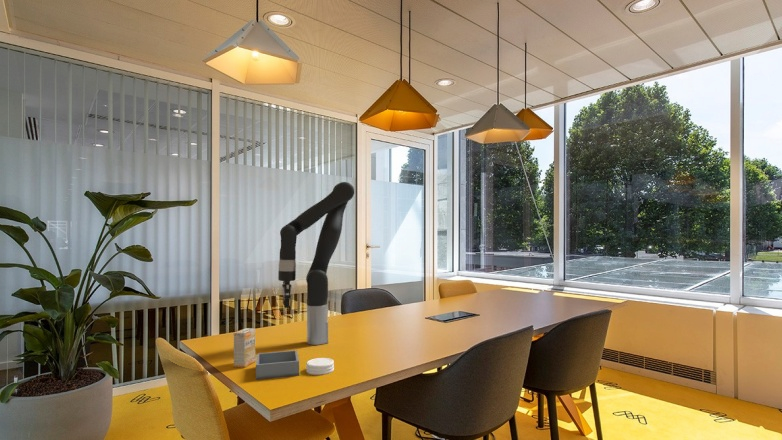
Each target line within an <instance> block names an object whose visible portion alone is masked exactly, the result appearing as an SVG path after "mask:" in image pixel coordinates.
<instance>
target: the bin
mask: <svg viewBox="0 0 782 440" xmlns="http://www.w3.org/2000/svg"><path fill="white" fill-rule="evenodd" d="M255 362H256V363H255V380H256V381H257V380H258V381H259V380H267V379H277V378H288V377H297V376H300V358H299V354H298V350H295V349H294V350H285V351H284V350H283V351H274V352H273V351H271V352H261V353H260V352H259V353H257V354H256V359H255Z"/></svg>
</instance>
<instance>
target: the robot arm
mask: <svg viewBox="0 0 782 440" xmlns="http://www.w3.org/2000/svg"><path fill="white" fill-rule="evenodd" d="M354 195H355V188H354V185H352V184H351V183H350V182H348V181H347V182H346V181H341V182H339V183H337V184H336V185H334V187H333V189H332V191H331V192H330V193H329V194H328V195H326V197H324V198H323V199H321V200H319V201H318V202H317V203H315V204H313V205H312V206H310V207H309V208H307V209H305V210H304V211H303V212H302V213H300V214H299V215H298V216H297V217H295V218H294V219H292V220H291V221H290V222H288V223H287V224H285V225H284V226H282V227H281V229H280V230H279V232H280V233H279V235H280V249H279V262H278V276H277V278H278V281H280V282H282V284H281V288H282V289H281V292H282V297H283V298H282V304H283V308H284V309H290V300H291V294H292V284H291V282H294V281H296V275H297V274H296V273H297V271H296V269H297V263H296V259H297V257H296V254H297V253H296V250H297V248H296V247H297V238H298V237H297V236H298V235H299V234H301V233H302V232H304V231H305V230H307V229H309V228H310V227H311V226H313V225H315V224H316V223H317V222H318V221H320V219H322V218H323V217H325V218H324V220H323V223H322V226H321V230H320V233H319V235H318V240H317V244H316V248H315V254H314V257H313V260H312V262H311V264H310V268H309V270H308V272H307V275H306V276H305V278H306V279H305V281H306V285H307V286H306V288H307V289H306V291H307V292H306V293H307V294H306V341H307V342H306V343H307V344H308V345H310V346H311V345H313V346H316V345H317V346H319V345H325V344H329V321H328V298H329V278H328V275H327V271H328V269H329V264H330V261H331V258H332V256H333V255H334V253H335V251H336V248H337V247H338V244H339V241H340V237H341V234H342V229H343V220H344V213H345V210H346V208H347V205H348V203H349V201H351V200H352V198H354Z"/></svg>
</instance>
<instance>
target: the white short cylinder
mask: <svg viewBox="0 0 782 440" xmlns="http://www.w3.org/2000/svg"><path fill="white" fill-rule="evenodd" d="M334 364H335V361H334V359H332V358H329V357H316V358H312V359H309V360H308V361H307V362H306V367H305V368H306V369H305V371H306V373H307V374H308V375H312V376H313V375H314V376H323V375H327V374H330V373H332V372H334V370H335V365H334Z"/></svg>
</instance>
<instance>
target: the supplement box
mask: <svg viewBox="0 0 782 440" xmlns="http://www.w3.org/2000/svg"><path fill="white" fill-rule="evenodd" d="M255 362H256V328H252V327H251V328H250V327H247V328H246V327H245V328H243V329H240V330H238V331H236V332H233V368H242V369H243V368H244V369H245V368H246V367H248V366H250V365H251V364H253V363H255Z"/></svg>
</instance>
